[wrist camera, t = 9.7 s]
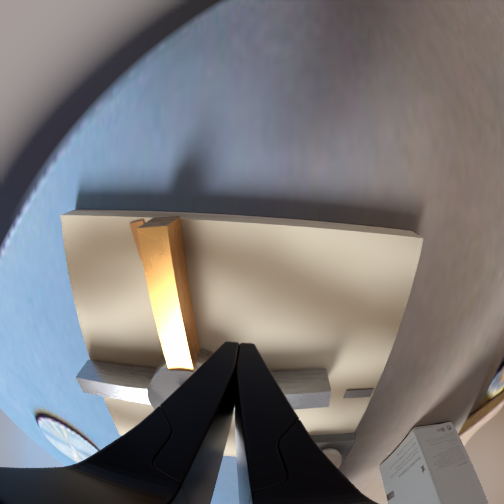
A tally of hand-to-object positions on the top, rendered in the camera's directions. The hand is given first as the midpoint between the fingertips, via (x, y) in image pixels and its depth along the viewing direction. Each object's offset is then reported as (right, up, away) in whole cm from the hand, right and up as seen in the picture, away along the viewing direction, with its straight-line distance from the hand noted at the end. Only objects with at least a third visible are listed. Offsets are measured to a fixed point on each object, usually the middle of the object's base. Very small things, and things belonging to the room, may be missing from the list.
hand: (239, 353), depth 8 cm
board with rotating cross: (-1, -5, +10) cm, 11 cm away
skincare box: (+18, -18, +14) cm, 29 cm away
